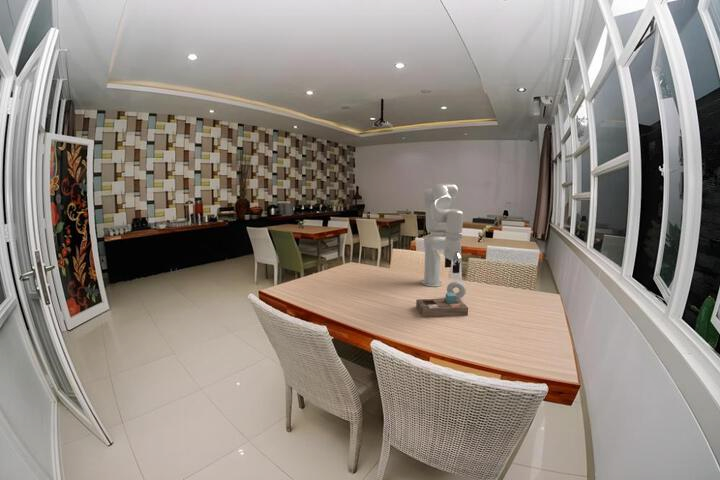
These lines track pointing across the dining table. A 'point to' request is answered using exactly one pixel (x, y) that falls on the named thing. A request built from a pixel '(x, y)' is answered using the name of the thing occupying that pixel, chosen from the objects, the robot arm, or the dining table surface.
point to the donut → (459, 285)
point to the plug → (450, 298)
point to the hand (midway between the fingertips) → (451, 270)
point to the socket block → (440, 308)
